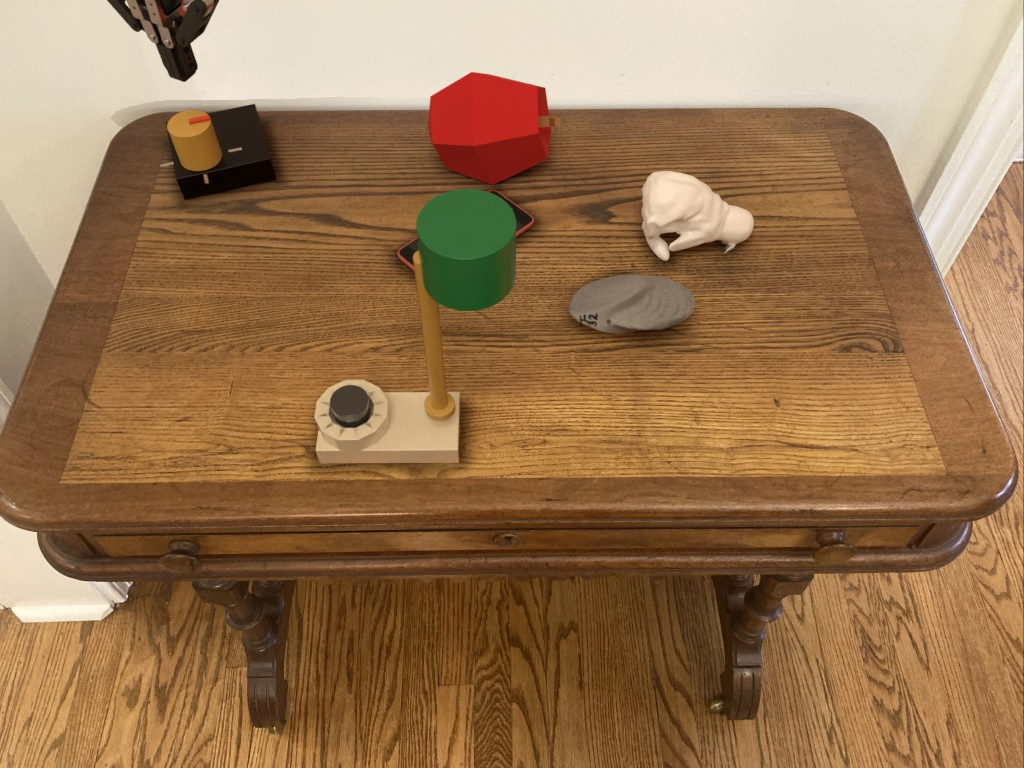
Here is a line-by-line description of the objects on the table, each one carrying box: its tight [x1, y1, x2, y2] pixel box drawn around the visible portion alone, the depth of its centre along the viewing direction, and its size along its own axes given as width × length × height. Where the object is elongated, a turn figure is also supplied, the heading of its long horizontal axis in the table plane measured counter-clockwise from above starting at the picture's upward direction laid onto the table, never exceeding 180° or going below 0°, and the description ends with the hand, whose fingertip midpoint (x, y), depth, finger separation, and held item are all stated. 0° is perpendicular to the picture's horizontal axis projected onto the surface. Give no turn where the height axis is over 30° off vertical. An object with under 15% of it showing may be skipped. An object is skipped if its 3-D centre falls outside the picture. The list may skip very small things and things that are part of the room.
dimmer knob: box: [166, 109, 222, 171], centre depth 90 cm, size 4×4×5 cm
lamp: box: [413, 188, 517, 421], centre depth 64 cm, size 8×6×22 cm
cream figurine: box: [640, 170, 755, 262], centre depth 86 cm, size 6×8×12 cm
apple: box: [427, 71, 562, 186], centre depth 92 cm, size 12×12×15 cm
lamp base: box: [313, 379, 462, 464], centre depth 74 cm, size 12×6×4 cm, turn 91°
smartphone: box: [397, 189, 535, 273], centre depth 89 cm, size 7×1×14 cm
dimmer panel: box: [159, 103, 277, 201], centre depth 94 cm, size 11×12×3 cm
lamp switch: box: [330, 385, 371, 427], centre depth 72 cm, size 3×3×2 cm
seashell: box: [567, 273, 696, 335], centre depth 81 cm, size 12×6×10 cm
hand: (183, 75), depth 80 cm, fingers closed
